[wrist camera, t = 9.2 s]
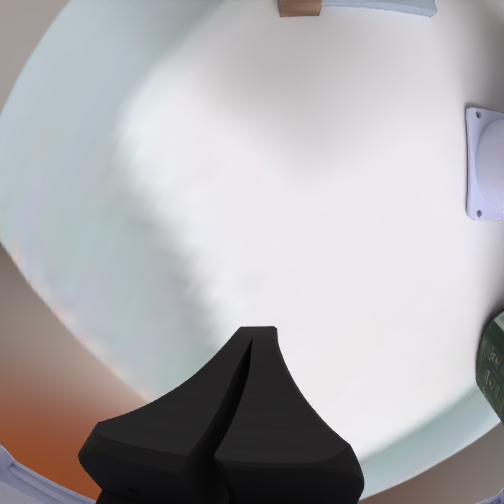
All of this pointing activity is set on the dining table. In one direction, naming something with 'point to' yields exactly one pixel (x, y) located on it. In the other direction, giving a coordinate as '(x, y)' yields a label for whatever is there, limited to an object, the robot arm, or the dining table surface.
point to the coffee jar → (492, 364)
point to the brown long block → (299, 7)
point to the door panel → (389, 5)
